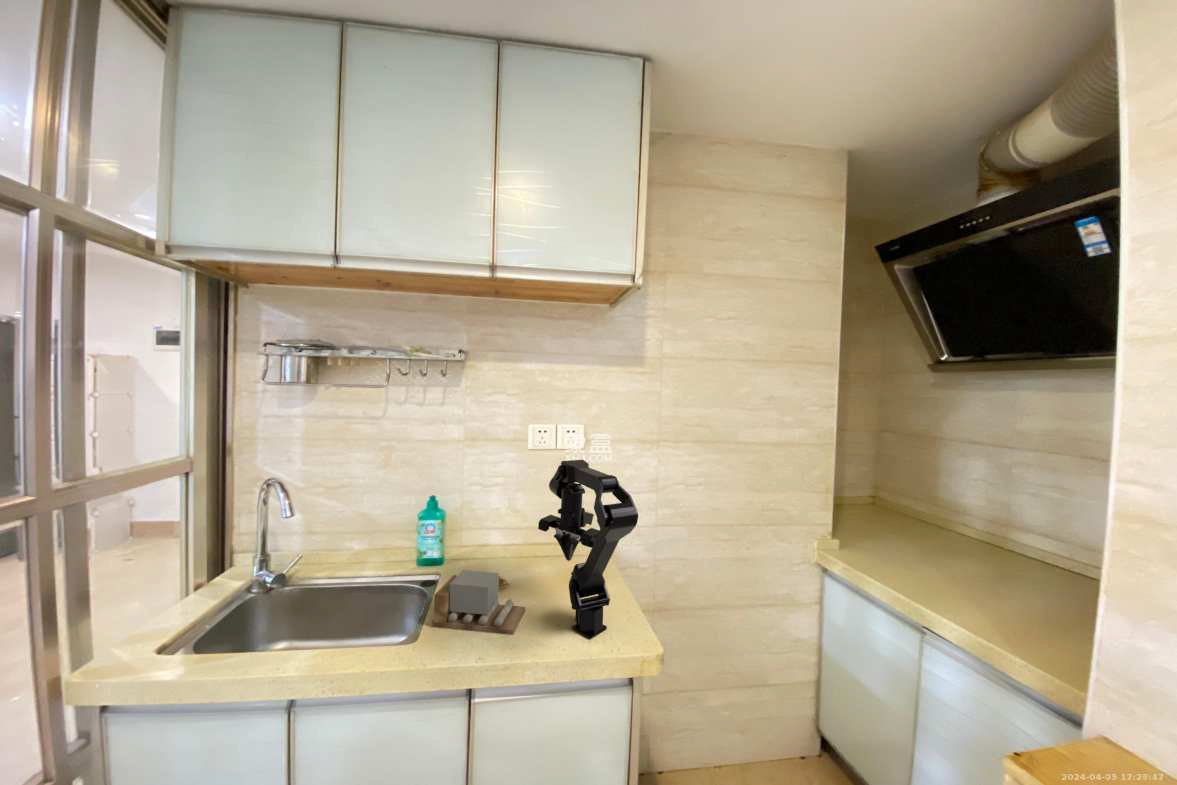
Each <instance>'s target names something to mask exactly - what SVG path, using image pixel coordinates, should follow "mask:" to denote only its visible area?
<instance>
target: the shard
mask: <svg viewBox="0 0 1177 785" xmlns="http://www.w3.org/2000/svg"><path fill="white" fill-rule="evenodd" d="M510 586H511V583H509V582H508V580H507V579H505V578H502V577H500V576H499V591H500V590H504V589H506V588H508V587H510Z"/></svg>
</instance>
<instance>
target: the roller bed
mask: <svg viewBox="0 0 1177 785" xmlns="http://www.w3.org/2000/svg"><path fill="white" fill-rule="evenodd" d="M458 575H459V574H457V575H455V574H453V575H452V576H451V577H450V578H449V579H448V580H447V581H446V582H445V583H444V584H443V585H442V586H441V587H440V589H438V590H437V591H436V592H435V593H434V596H433V597H434V601H433V602H434V603H433V604H434V605H433V607H434V608H433V610H434V611H433V612H434V613H433V618H434V619H433V620H432V621H431V626H430V627H432V628H439V629H451V630H461V631H462V630H463V631H470V632H471V631H472V632H480V633H481V632H482V633H490V634H500V635H509V636H510V635H511V636H513V635H514V633H515V632H516V631H517V628H518V626H519V625H520V622H521V620H522V618H523V617H524V614H525V613H526V606H521V605H519V606H518V605H515V601H514V600H513V599H512V598H509V599H507V600H506V602H505V604H501V603H500V599H499V598H498V600H497V602H496V603H495V605H494V606H493V608H492V609H491V611H490V612H489V614H488V615H484V614H473V613H463V612H452V611H449V609H450V583H451V582H452V581H453V580H454V579H455V578H456V577H457V576H458Z"/></svg>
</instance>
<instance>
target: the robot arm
mask: <svg viewBox="0 0 1177 785" xmlns="http://www.w3.org/2000/svg"><path fill="white" fill-rule="evenodd" d="M583 486H585V488H589V489H591V490H593V491H594V494H595V499H594V504H593V510H594V512H595V514H594V513H592V512H588V511H586V509H585V507H583V494H586V490H585V488H584V487H583ZM548 489H549V490H550V492H551V493H553V494H554V495H555V496H556V497H557V498H558V499H559V500H560V501H561V502H560V508H559V509H557V514H560V517H559V516H555V515H553V514H549V515H547V516H545V517H543V518H540V520H539V521H538V525H537V527H538V530H539V531H542V532H545V533H546V532H547V531H549V530H550V528H551V529H554V530H555V533H554V535H553V538H555V539H556V541H557V544H558V545H559V546H560V549H561V551H562V553H563V555H564V558H565V560H566V561H568V562H570V561H571V560H572V558H573V556H574V553H575V551H576V549H577V547H578V545H579V543H580V544H581V545H582V546H585V547H588V548H591V549H590V552H589V553H588V556H587V558H586V560H585V562H581V563H576V564H575V565H574V567H573V570H572V572H570V574H571V576H570V579H569V581H568V590H569V592H568V593H569V600H570V604H571V609H572V610H575V618H574V619H575V624H574V625H572V626H571V630H573V631H575V632H576V633H579V635H582V636H584V637H585V638H587V639H590V640H591V639H593V638H595V637H596V636H598V635H599V634H601V633H602V632H604V631H605V630H607V629H608V626H607V625H605V624H604V607H606V606H609V605H610V601H611V597H610V594H609V591H608V588H607V585H606V579H605V577H604V572H605V570H606V569H607V566H608V564H609V563H610V561H611V558H612V556H613V555H614V552H615V550H616V547H617V546H618V545H619V541H620V540H621V539H623V538H624V537H626V536H628V535H629V534H631V533H632V531H633V530H634V529H635V528H636V526H637V524H638V521H639V512H638V509H637V508H636V505H635V504H636V503H635V502H634V499H633V498H632V495H631V494H630V493H629V492H628V491H626V490H625V488H623V486H621V484H620V482H619V480H618V478H617V476H615V475H612V474H607V473H605V472H602V471H600V470H598V469H593V468H591V467H590V466H589V463H588V462H587V461H586V460H584V459H573V460H562V461H561V462H560V465H558V467H557V469H556V472H555V473H554V475H553V477H552V478H551V479H550V481H549V483H548ZM603 494H612V496H614V497H615V498H616V499H617V500H618V501H619V503H617V502H616V503H610V504H609V503H608V504H603V502H602V496H603ZM594 516H596V522H597V525H598V526H599V529H596V528H593V527H590V528H588V529H587V530H586V529H584V528H585V527H586V526H587V525H589V526H592V523H593V520H594Z"/></svg>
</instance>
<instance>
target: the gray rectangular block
mask: <svg viewBox="0 0 1177 785" xmlns="http://www.w3.org/2000/svg"><path fill="white" fill-rule="evenodd" d="M457 575H458V576H457V577H456V578H455V579H454V580H453V581H452V582H451V583H450V609H449V611H452V612H463V613H473V614H484V615H488V614H489V612H490V611H491V609H492V608H493V606H494V605H495V603H496V602H497V600H498V599H499V594H500V592H499V591H500V590H499V577H500V573H499V572H493V571H492V572H490V571H478V570H466V569H465V570H464V569H463V570H462V571H461V572H460V573H458V574H457Z"/></svg>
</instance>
